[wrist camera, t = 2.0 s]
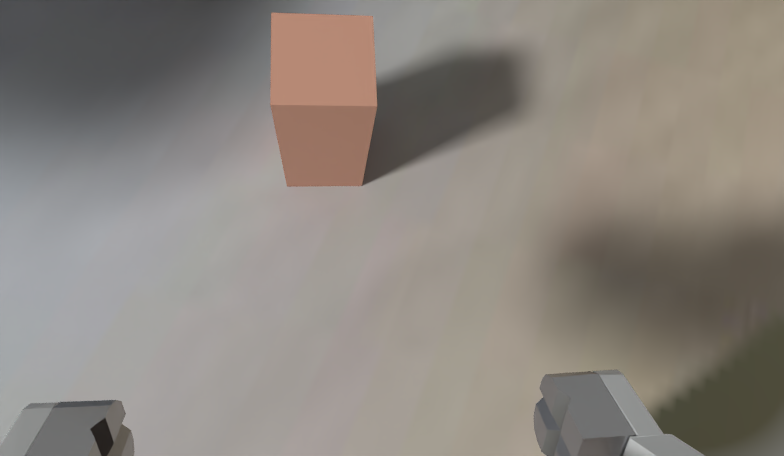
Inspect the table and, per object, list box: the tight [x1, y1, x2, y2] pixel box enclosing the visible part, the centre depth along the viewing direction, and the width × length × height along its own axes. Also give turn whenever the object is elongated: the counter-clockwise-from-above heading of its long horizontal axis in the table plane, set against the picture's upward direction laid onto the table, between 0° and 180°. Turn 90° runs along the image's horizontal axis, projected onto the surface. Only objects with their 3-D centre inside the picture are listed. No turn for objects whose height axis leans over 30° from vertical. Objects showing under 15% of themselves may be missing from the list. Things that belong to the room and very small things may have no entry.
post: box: [270, 13, 377, 186], centre depth 25 cm, size 4×4×9 cm
